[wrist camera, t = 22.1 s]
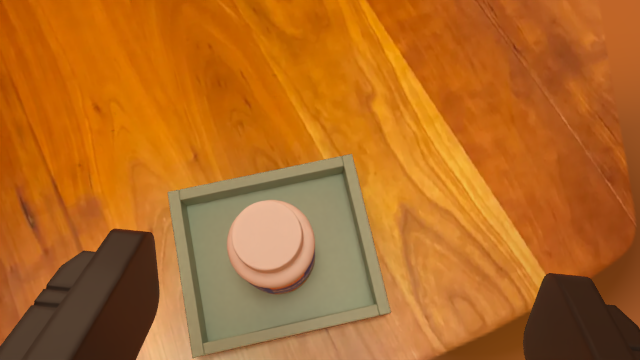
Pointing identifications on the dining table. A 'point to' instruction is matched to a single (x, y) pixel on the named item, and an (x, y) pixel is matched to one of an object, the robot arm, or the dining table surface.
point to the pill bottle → (272, 246)
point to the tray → (246, 300)
